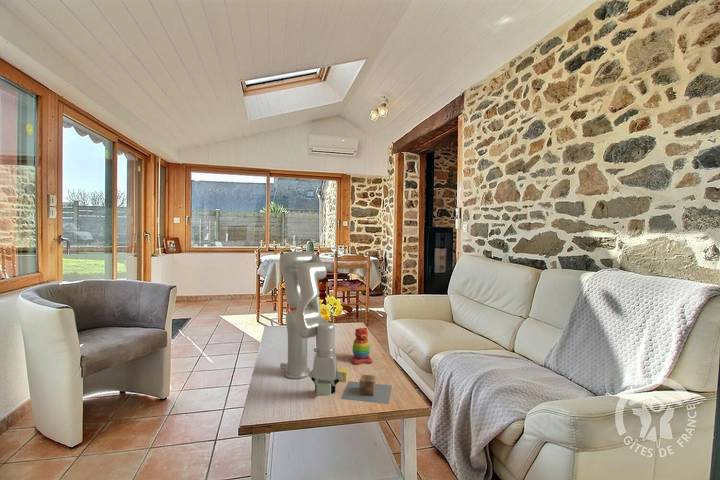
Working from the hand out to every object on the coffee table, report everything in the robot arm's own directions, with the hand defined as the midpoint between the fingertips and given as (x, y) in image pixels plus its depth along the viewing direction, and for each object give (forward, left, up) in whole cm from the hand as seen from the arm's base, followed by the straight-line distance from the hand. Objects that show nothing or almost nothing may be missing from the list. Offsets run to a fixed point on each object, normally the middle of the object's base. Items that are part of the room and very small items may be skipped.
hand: (325, 392), depth 145 cm
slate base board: (+18, +3, -1) cm, 18 cm away
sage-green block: (0, 0, -1) cm, 1 cm away
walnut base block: (+18, +3, +1) cm, 18 cm away
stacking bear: (+9, +39, -1) cm, 40 cm away
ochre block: (+4, +13, -1) cm, 14 cm away
